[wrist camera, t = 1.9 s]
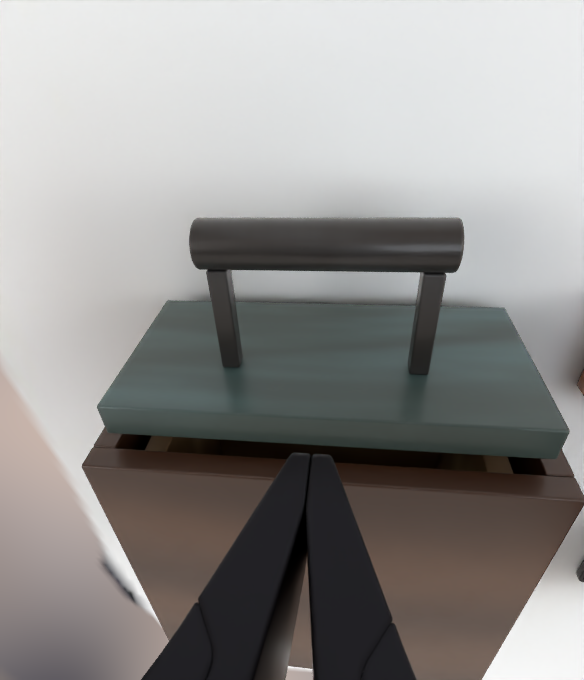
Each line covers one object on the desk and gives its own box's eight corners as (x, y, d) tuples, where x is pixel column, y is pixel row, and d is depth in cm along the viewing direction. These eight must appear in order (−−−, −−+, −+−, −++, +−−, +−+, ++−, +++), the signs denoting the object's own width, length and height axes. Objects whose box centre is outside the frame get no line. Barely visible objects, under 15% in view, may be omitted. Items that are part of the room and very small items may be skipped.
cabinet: (169, 321, 20) (79, 466, 13) (504, 330, 18) (587, 501, 12) (215, 508, 28) (174, 652, 22) (447, 527, 27) (476, 688, 20)
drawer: (137, 178, 15) (31, 255, 10) (542, 174, 14) (652, 261, 9) (214, 495, 26) (180, 609, 21) (446, 512, 25) (471, 640, 19)
